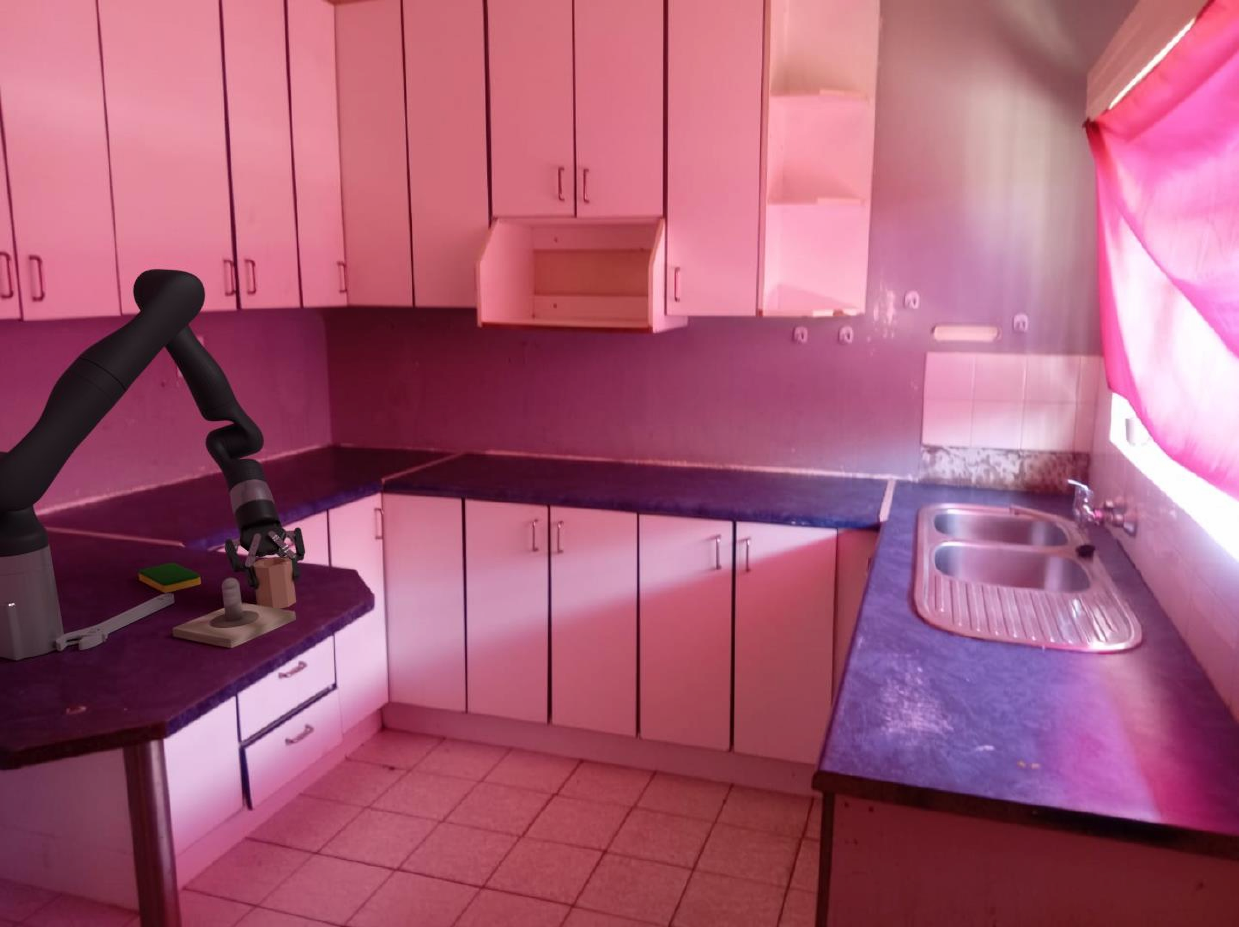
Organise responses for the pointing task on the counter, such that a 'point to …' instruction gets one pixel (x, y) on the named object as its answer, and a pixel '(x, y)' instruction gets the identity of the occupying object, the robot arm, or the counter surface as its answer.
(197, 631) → the post stand
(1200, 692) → the counter surface
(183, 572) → the dish sponge
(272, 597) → the collar
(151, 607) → the adjustable wrench
